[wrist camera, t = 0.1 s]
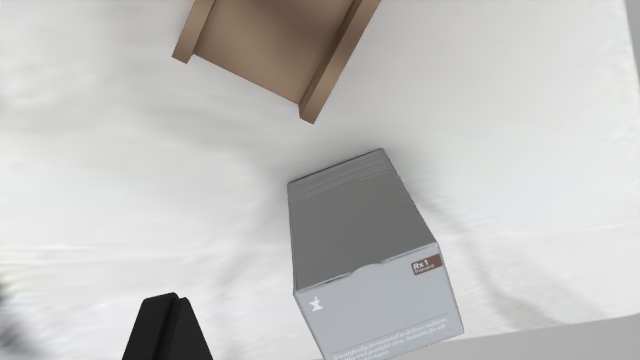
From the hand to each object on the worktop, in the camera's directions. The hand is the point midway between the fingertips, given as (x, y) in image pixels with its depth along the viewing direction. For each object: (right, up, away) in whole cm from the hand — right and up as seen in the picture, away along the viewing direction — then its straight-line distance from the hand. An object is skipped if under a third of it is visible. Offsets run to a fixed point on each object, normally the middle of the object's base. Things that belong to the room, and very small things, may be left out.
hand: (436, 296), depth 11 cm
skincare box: (0, +1, +34) cm, 34 cm away
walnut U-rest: (-5, +14, +27) cm, 31 cm away
